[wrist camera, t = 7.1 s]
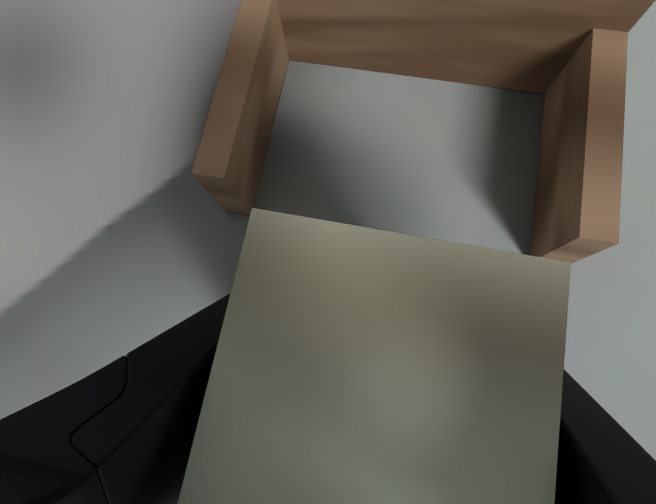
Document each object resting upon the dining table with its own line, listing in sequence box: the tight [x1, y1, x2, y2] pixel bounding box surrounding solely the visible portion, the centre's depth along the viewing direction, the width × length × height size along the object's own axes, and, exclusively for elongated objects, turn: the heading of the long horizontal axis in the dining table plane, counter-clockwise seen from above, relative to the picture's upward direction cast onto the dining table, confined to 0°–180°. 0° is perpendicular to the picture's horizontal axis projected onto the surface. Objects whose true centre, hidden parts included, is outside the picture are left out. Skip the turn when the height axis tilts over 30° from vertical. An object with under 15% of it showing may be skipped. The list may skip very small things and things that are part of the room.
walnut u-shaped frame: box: [192, 0, 655, 263], centre depth 16 cm, size 9×14×7 cm, turn 79°
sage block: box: [178, 208, 571, 504], centre depth 11 cm, size 5×5×10 cm
